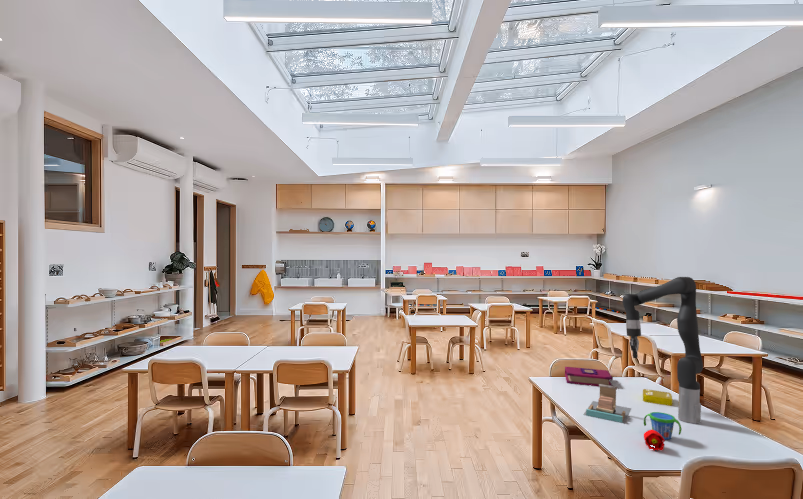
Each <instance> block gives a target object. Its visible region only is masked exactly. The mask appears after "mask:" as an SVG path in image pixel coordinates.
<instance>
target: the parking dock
mask: <svg viewBox="0 0 803 499" xmlns="http://www.w3.org/2000/svg"><path fill="white" fill-rule="evenodd" d="M597 406H598V401H595V400H592V402H591V403H590V404H589V406H588V407H587V408H586V410H585V412H584V413H583V416H586V417H592V418H596V419H601V420H604V421H610V422H614V423H618V424H619V423H620V424H624V425H625V424H626V422H627V420H628V417H629V415H630V412H631V410H632V408H631V407H627V406H620V405H617V404H616V408H615V410H616V412H615V413H614V414H610V413H608V412H603V411H602V412H600V411H596V407H597Z"/></svg>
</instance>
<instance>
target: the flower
mask: <svg viewBox="0 0 803 499" xmlns="http://www.w3.org/2000/svg"><path fill="white" fill-rule="evenodd" d="M643 438H644V443H645V445H646V446H647V448H648V450H650V449H653V450H652V451H655V450H657V451H663V450H664V449H665V440H664V438H663V437H662V436H661V434H660V433H658V432H657V431H655V430H652V429H650V430H647V431H645V432H644V433H643ZM650 445H653V446H655V448H654V447H651V446H650Z"/></svg>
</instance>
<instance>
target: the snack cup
mask: <svg viewBox="0 0 803 499" xmlns="http://www.w3.org/2000/svg"><path fill="white" fill-rule="evenodd" d="M647 417H649V420H650V422H651V423H650V425H651V430H655V431H657V432H658V433H660V434H661V436H662V437H663V438H664V440H671V439H672V435H673V431H674V426H675V423H676V424H677V426H678V436H679V435H681V433H682V431H683V430H682V425H681V423H680V421H679V420H678V419H676V418H675V416H674V415H672V414H669V413H665V412H660V411H653V412H650V413H647V414H645V416H644V419H643V426H644V427H645V426H647V421H646V420H647V419H646V418H647Z"/></svg>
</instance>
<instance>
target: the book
mask: <svg viewBox="0 0 803 499" xmlns="http://www.w3.org/2000/svg"><path fill="white" fill-rule="evenodd" d="M564 377H565V381H566V383H567V384H570V385H571V384H572V385H580V386H589V385H591V386H592V387H599V384H603V385H608V386H613V384H612V383H611V380H612V381H613V379H614V378H613V376H612V375H611V373H610V372H609V370H606V369H595V368H584V367H576V366H575V367H572V366H564Z"/></svg>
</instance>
